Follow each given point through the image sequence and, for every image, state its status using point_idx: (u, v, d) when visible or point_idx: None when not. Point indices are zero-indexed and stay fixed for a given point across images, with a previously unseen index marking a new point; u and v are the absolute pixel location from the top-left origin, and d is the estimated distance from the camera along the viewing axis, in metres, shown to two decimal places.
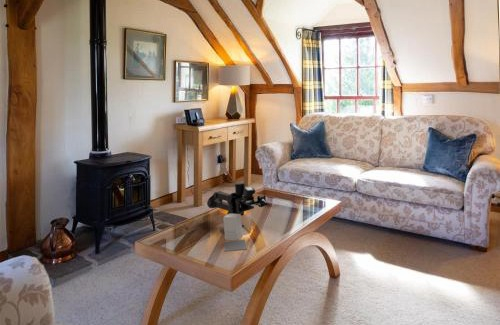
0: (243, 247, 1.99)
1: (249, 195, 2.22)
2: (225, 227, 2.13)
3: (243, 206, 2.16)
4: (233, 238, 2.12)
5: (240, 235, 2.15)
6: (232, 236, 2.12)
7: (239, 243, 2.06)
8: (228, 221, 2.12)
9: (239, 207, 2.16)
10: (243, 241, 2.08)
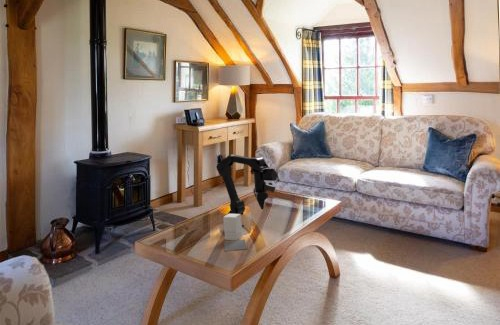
0: (243, 247, 1.99)
1: None
2: (225, 227, 2.13)
3: None
4: (233, 238, 2.12)
5: (240, 235, 2.15)
6: (232, 236, 2.12)
7: (239, 243, 2.06)
8: (228, 221, 2.12)
9: None
10: (243, 241, 2.08)
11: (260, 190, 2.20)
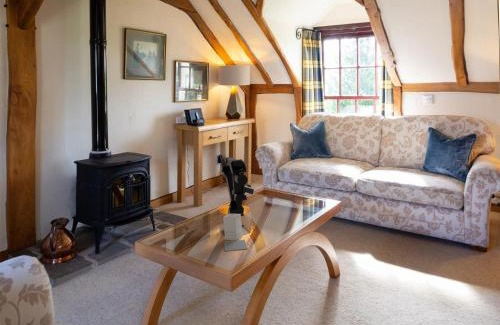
0: (243, 247, 1.99)
1: None
2: (225, 227, 2.13)
3: None
4: (233, 238, 2.12)
5: (240, 235, 2.15)
6: (232, 236, 2.12)
7: (239, 243, 2.06)
8: (228, 221, 2.12)
9: None
10: (243, 241, 2.08)
11: (238, 192, 2.19)
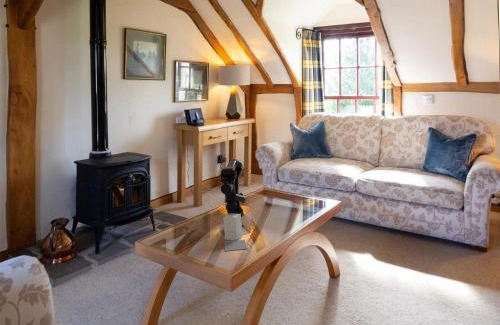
0: (243, 247, 1.99)
1: None
2: (225, 227, 2.13)
3: None
4: (233, 238, 2.12)
5: (240, 235, 2.15)
6: (232, 236, 2.12)
7: (239, 243, 2.06)
8: (228, 221, 2.12)
9: None
10: (243, 241, 2.08)
11: (230, 200, 2.20)
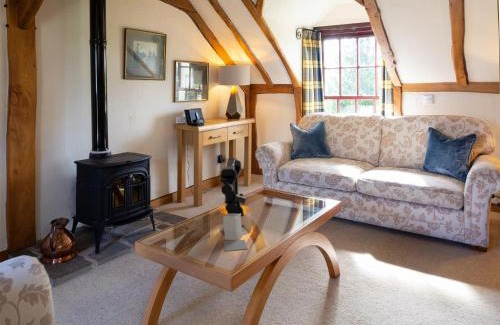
0: (243, 247, 1.99)
1: None
2: (225, 227, 2.13)
3: None
4: (233, 238, 2.12)
5: (240, 235, 2.15)
6: (232, 236, 2.12)
7: (239, 243, 2.06)
8: (228, 221, 2.11)
9: None
10: (243, 241, 2.08)
11: (230, 201, 2.17)
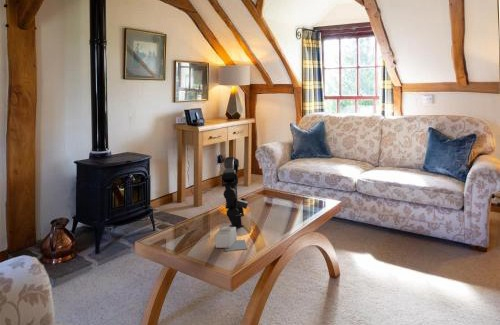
0: (243, 247, 1.99)
1: None
2: None
3: None
4: None
5: (235, 232, 2.09)
6: None
7: (239, 243, 2.06)
8: None
9: None
10: (243, 241, 2.08)
11: (231, 206, 2.07)
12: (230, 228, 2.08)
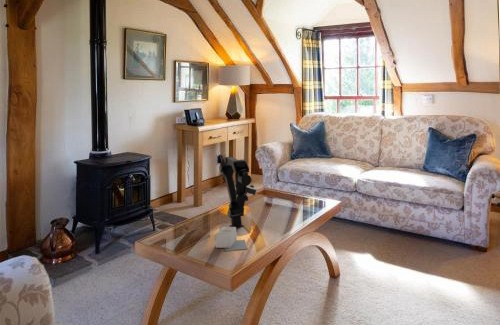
0: (243, 247, 1.99)
1: None
2: None
3: None
4: None
5: (235, 232, 2.09)
6: None
7: (239, 243, 2.06)
8: None
9: None
10: (243, 241, 2.08)
11: (240, 192, 2.19)
12: (230, 228, 2.08)
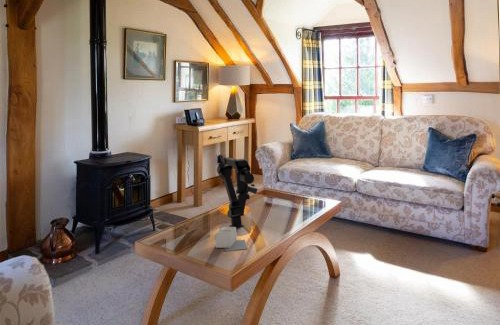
0: (243, 247, 1.99)
1: None
2: None
3: None
4: None
5: (235, 232, 2.09)
6: None
7: (239, 243, 2.06)
8: None
9: None
10: (243, 241, 2.08)
11: (242, 191, 2.20)
12: (230, 228, 2.08)
